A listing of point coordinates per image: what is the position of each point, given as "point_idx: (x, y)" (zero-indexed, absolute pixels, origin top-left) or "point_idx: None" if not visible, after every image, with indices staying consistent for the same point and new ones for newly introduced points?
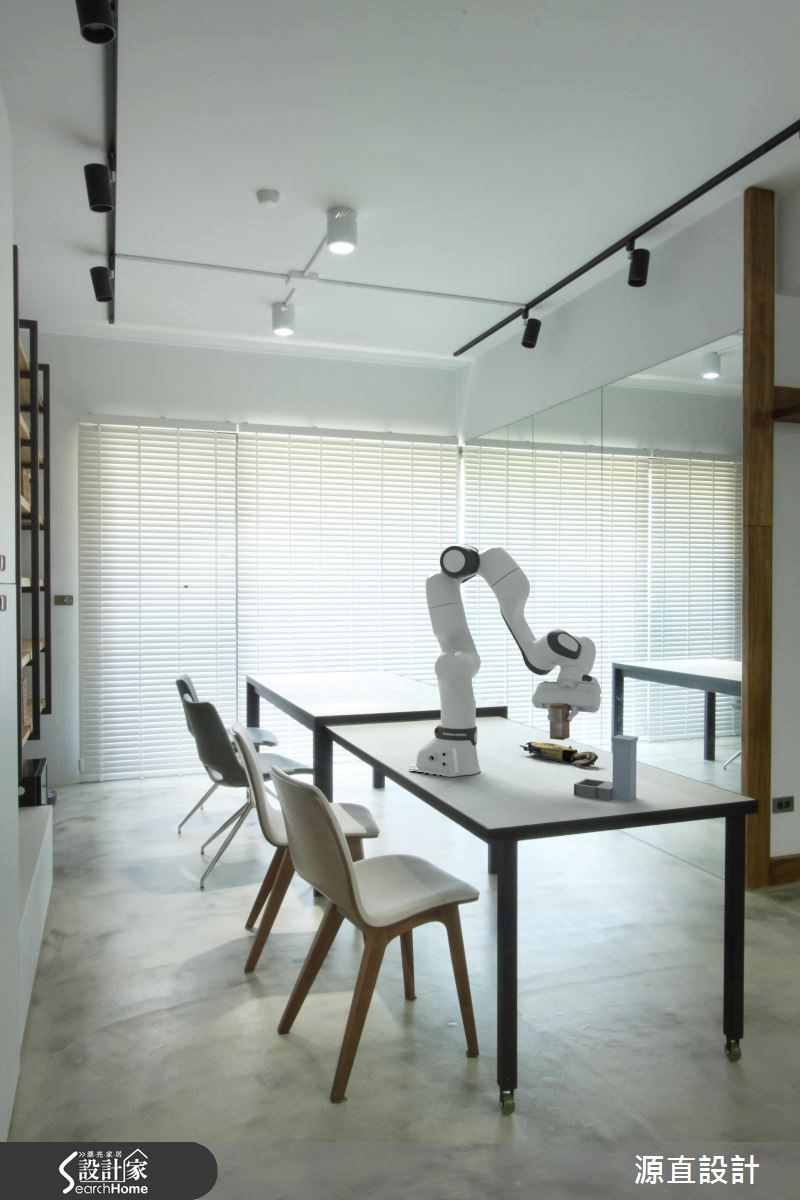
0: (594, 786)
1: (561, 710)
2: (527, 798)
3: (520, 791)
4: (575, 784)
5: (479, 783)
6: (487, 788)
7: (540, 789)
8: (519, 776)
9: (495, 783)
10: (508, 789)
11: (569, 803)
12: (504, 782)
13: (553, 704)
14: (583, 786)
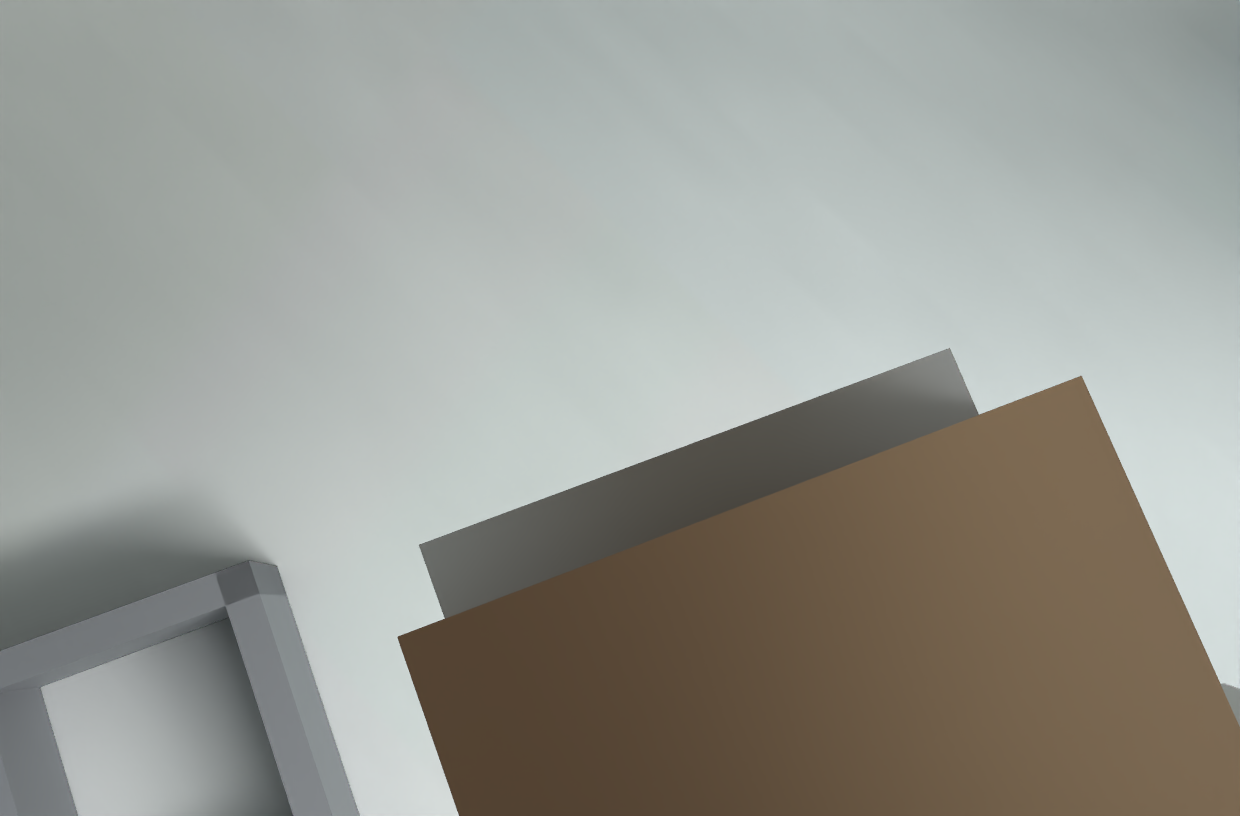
0: (8, 684)
1: (433, 569)
2: (474, 81)
3: (717, 218)
4: (229, 568)
5: (1191, 120)
6: (988, 47)
7: (661, 445)
8: (1236, 686)
9: (1110, 247)
10: (846, 180)
11: (75, 268)
12: (1098, 351)
13: (984, 540)
14: (131, 605)
